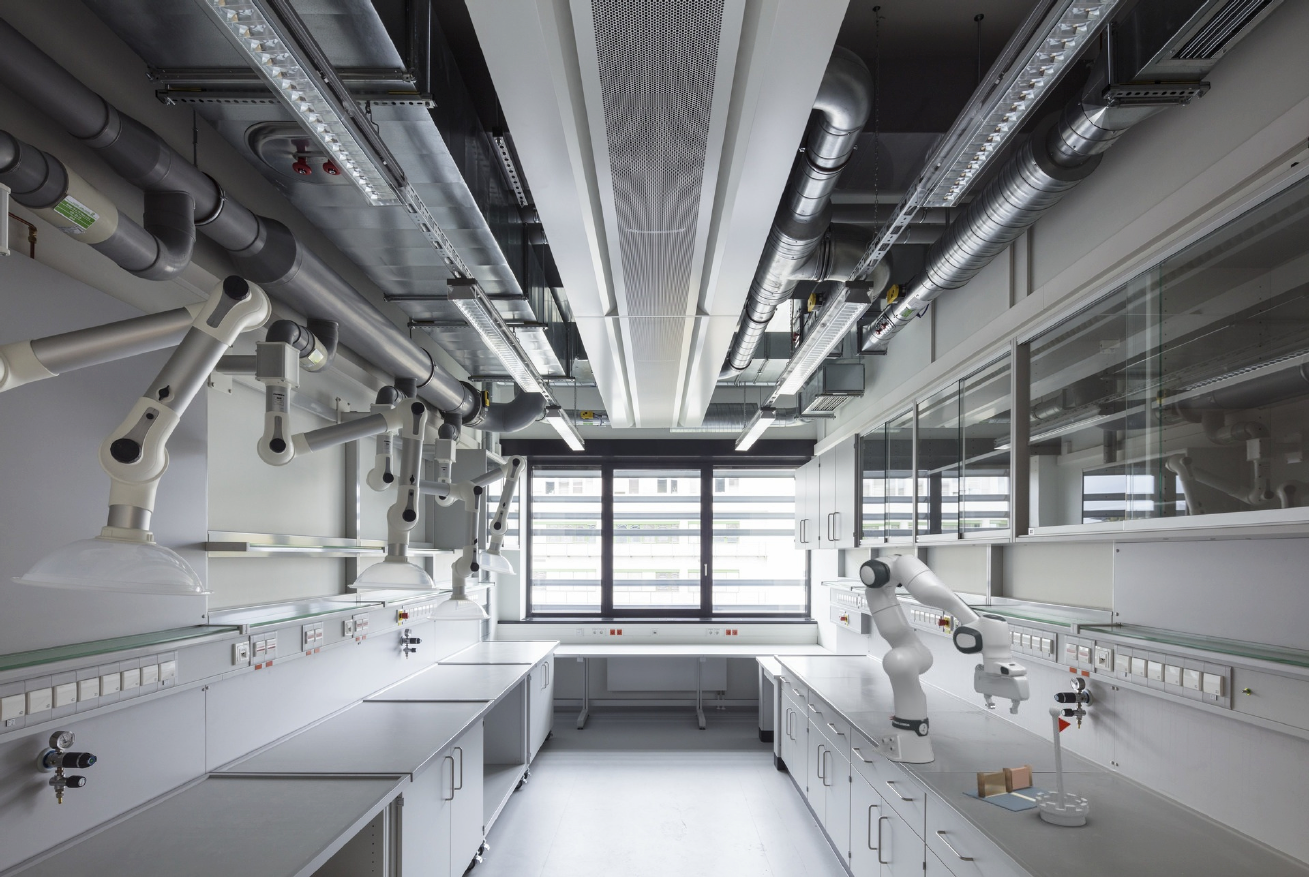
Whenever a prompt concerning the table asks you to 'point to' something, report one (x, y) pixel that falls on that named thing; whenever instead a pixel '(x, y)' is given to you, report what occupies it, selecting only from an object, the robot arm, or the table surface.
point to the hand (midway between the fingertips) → (1002, 711)
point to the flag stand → (1061, 788)
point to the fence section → (1021, 777)
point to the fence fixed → (994, 783)
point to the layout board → (1012, 798)
